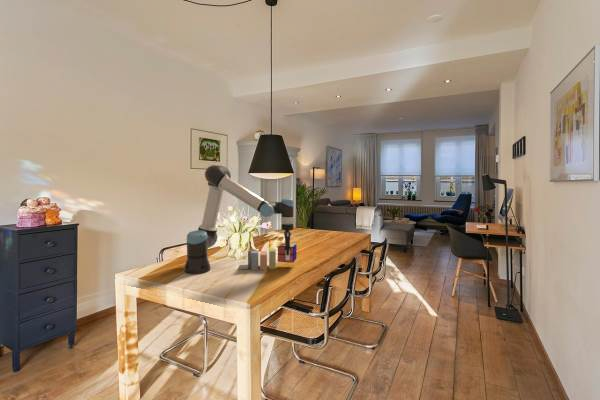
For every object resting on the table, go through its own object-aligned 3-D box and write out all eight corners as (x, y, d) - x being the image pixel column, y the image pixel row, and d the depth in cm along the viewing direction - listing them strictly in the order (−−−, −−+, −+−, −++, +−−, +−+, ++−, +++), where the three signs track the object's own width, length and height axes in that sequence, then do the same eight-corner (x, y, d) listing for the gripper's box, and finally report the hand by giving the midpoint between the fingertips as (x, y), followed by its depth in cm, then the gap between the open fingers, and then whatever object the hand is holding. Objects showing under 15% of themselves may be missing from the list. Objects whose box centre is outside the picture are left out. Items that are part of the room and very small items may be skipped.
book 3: (269, 268, 199) (269, 251, 198) (269, 265, 206) (269, 248, 205) (275, 268, 200) (275, 251, 199) (275, 265, 207) (275, 248, 206)
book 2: (260, 269, 198) (260, 254, 198) (260, 265, 206) (260, 251, 206) (266, 269, 199) (266, 254, 198) (267, 265, 207) (267, 251, 206)
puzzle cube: (293, 262, 197) (293, 246, 197) (277, 261, 199) (277, 246, 199) (296, 258, 207) (296, 243, 207) (281, 257, 209) (281, 242, 208)
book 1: (251, 269, 199) (251, 253, 198) (252, 265, 206) (252, 250, 205) (257, 269, 199) (257, 253, 198) (258, 265, 206) (258, 250, 205)
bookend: (238, 269, 197) (238, 251, 196) (239, 265, 206) (239, 248, 205) (250, 269, 198) (250, 251, 197) (251, 265, 206) (251, 248, 206)
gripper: (294, 226, 190) (294, 262, 192) (292, 220, 213) (292, 253, 215) (281, 226, 190) (281, 262, 191) (281, 220, 213) (281, 253, 215)
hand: (287, 257), depth 203 cm, fingers closed on puzzle cube, 11 cm apart
